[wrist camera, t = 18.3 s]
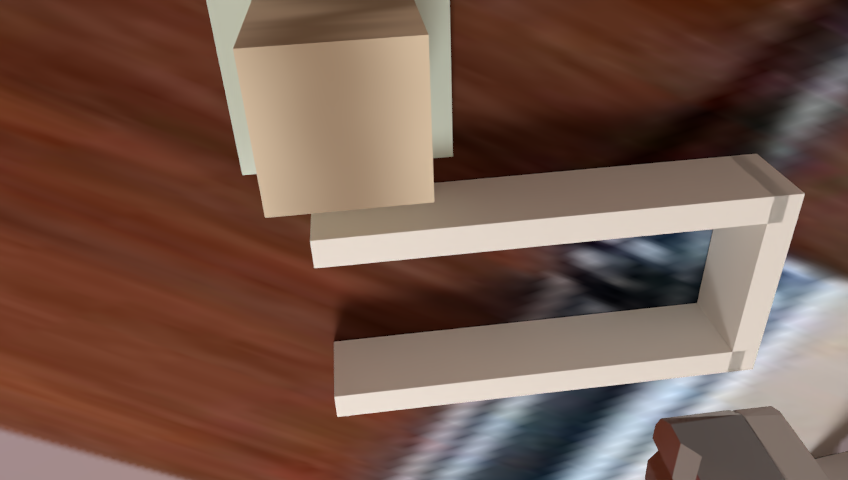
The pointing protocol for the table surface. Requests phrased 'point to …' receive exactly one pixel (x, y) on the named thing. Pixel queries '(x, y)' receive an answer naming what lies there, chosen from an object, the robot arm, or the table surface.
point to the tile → (433, 4)
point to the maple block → (337, 104)
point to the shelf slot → (576, 335)
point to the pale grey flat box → (835, 466)
